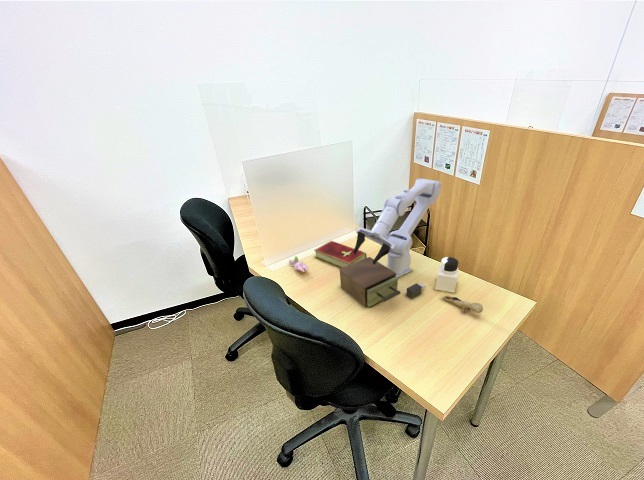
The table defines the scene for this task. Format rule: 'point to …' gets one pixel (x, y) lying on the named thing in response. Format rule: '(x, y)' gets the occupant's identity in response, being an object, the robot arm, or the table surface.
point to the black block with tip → (414, 290)
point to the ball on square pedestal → (447, 275)
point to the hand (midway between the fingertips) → (363, 258)
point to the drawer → (382, 291)
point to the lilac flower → (298, 265)
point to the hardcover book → (338, 254)
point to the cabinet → (363, 278)
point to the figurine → (465, 304)
